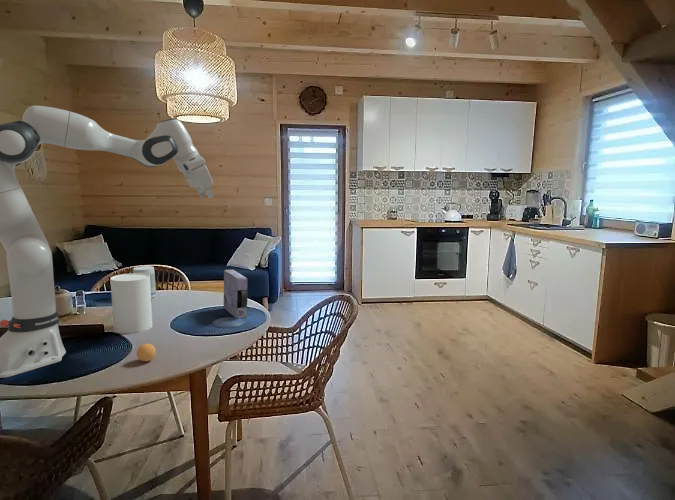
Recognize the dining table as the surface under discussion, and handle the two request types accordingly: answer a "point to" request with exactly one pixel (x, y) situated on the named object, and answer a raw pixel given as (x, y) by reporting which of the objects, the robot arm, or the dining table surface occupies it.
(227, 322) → the disc
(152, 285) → the supplement tub
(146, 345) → the ball
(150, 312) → the canister
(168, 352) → the dining table surface
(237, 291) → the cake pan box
